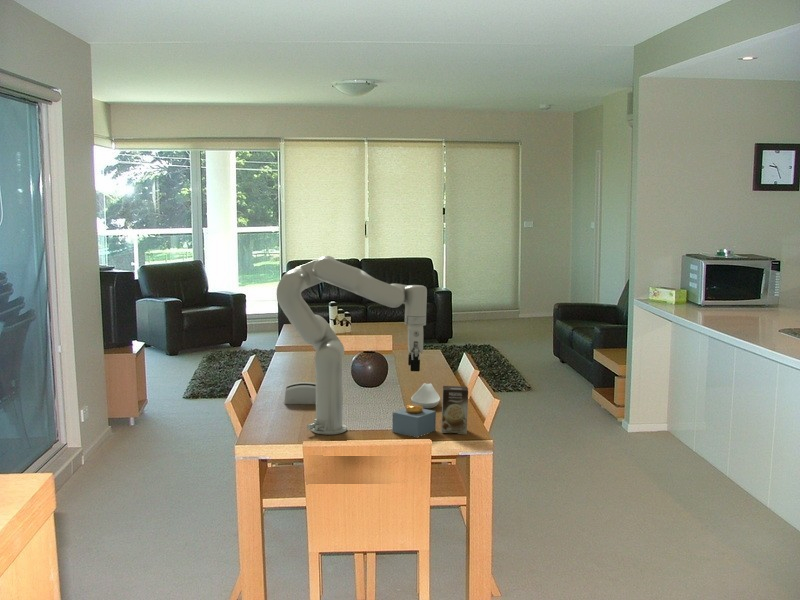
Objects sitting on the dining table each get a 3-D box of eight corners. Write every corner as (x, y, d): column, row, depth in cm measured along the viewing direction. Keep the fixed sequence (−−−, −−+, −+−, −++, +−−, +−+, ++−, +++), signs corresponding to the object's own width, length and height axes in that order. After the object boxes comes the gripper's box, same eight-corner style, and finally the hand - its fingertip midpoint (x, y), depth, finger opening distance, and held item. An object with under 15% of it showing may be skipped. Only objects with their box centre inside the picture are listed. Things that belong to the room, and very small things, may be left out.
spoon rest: (440, 411, 304) (440, 394, 303) (410, 411, 305) (410, 393, 304) (441, 397, 328) (441, 380, 327) (413, 396, 328) (413, 379, 328)
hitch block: (417, 437, 269) (417, 417, 268) (392, 432, 276) (392, 412, 275) (435, 430, 278) (435, 411, 277) (410, 425, 284) (411, 406, 283)
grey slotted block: (326, 400, 318) (325, 380, 314) (325, 407, 314) (325, 386, 310) (285, 400, 317) (284, 380, 313) (284, 407, 313) (283, 386, 309)
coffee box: (441, 434, 274) (442, 389, 272) (441, 428, 280) (442, 385, 278) (467, 434, 273) (468, 390, 272) (466, 429, 280) (467, 385, 278)
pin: (420, 433, 273) (421, 408, 272) (404, 432, 274) (404, 407, 273) (423, 429, 279) (424, 404, 278) (407, 427, 280) (407, 403, 279)
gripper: (428, 324, 263) (426, 373, 265) (423, 317, 280) (422, 363, 283) (406, 324, 263) (405, 373, 265) (403, 316, 280) (401, 363, 282)
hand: (413, 368), depth 274 cm, fingers open, 9 cm apart
